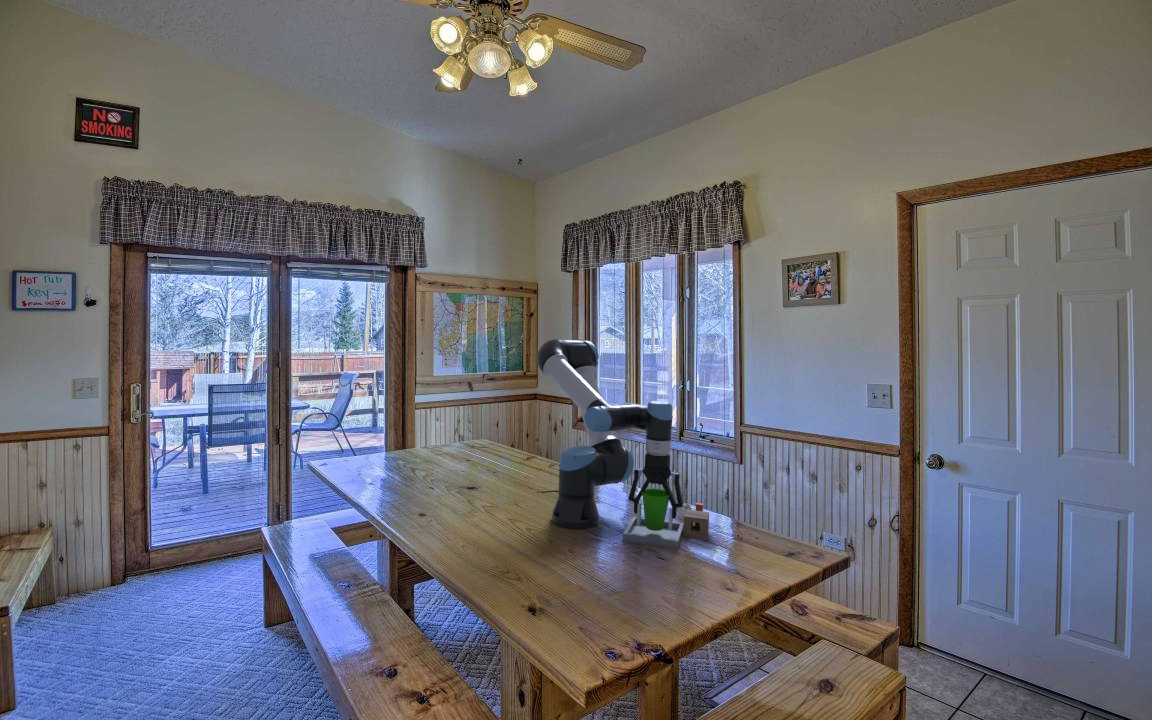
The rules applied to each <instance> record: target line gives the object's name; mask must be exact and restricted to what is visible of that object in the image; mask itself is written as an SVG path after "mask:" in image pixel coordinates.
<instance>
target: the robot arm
mask: <svg viewBox="0 0 1152 720" xmlns="http://www.w3.org/2000/svg"><path fill="white" fill-rule="evenodd" d="M599 355H600V354H599V352H598V349H597V347H596V346H595V345H594V343H593V342H592V341H589V340H583V339H580V338H579V339H559V338H558V339H557V338H553V339H550V340H547V341H546V342H544V343H543V344H542V345H541V346H540V347H539V350H538V351H537V356H536V362H537V365H538V368H539V369H540V371H541V373H543V375H544V376H545V377H546V378H548V379H552V380H553V382H555V383H556V384H557V386H559V388H560V389H561V390H562V391H563V392H564V393H565V394H566V395H567V397H569V399H570V400H571V402H573V403H574V404H575V405H576V406H577V407H578V409H579V411H580V415H581V417H582V420H583V421H582V422H583V424H584V427H585V431H586V434H587V438H588V441H589V446H587V445H582V446H579V445H578V446H571V447H569V448H566V449H564V450H563V451H562V452H561V453H560V454H559V455H560V456H559V463H558V469H559V471H558V495H557V499H556V502H555V505H554V507H553V511H552V513H551V514H552V515H551V521H552V523H554V524H555V525H557V526H559V527H563V528H567V529H576V530H577V529H578V530H579V529H589V528H592V527H595V526H597V525H599V522H600V514H599V509H598V506H597V503H596V500H595V493H596V492H595V489H596V487H599V486H604V485H605V486H606V485H613V484H614V485H615V484H619V483H621V482H626V481H627V480H628V479H629V478H631V476H632V473H633V476H634V477H633V481H632V484H631V488H630V491H629V496H628V498H627V499H628V501H630V502H633V503H634V505H633V512H634V514H636V517H637V525H638V526H639V525H640V523H641V518H642V506H643V505H642V504H643V501H640V500H641V498H643V496H642V493H641V492H643V493H644V491H645V490H646V488H648V486H649V485H650V484H651V485H652V484H654V485H655V484H657V485H662V489H664V490H665V492H666V494H667V496H668V495H670V496H669V497H668V499H669V503H670V506H669V512H668V521H669V530H671V529H672V522H674V521H673V519H674V520H676V518H677V513H678V510H677V509H678V508H682V507H683V505H684V500H683V495H682V489H681V484H680V477H681V474H680V472H674V471H672V470H671V455H670V453H671V449H672V427H673V405H672V403H670V402H667V401H659V400H653V401H652V400H651V401H648V403H647V405H643V404H638V403H636V402H625V403H624V404H623V403H622V404H618V405H610V404H609V403H608V401H606V400H605V399H604V398H603V397H602V396H601V392H600V389H599V386H598V383H597V380H596V377H595V375H596V372H597V371H598V370H597V367H598V366H599V362H600V361H599V359H600V356H599ZM631 429H633V430H635V429H637V430H642V431H645V432H646V433H645V454H644V456H645V457H644V467H643V468H638V467H637V468H635V460H634V459H635V458H634V455H633V453H632V451H631V449H629V448H628V447H626V446H623V445H622V442H621V439H620V438H618V437H617V436H615V435H614V431H621V430H631ZM634 468H635V469H634ZM633 470H634V471H633ZM642 474H643V476H644V477H645V478H646V480H645V482H644V483H643V485H642V487H641V489H640V491H639V492H638V494H637V495H636V496H635V494H636V490H637V487H638V483H639V480H640V477H641V476H642ZM670 477H671V478H672V480H673V481H674V488H675V495H676V498H675V496H674V493H673V492H672V490H671V487H670V485H669V482H668V479H669V478H670Z"/></svg>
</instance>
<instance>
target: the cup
mask: <svg viewBox="0 0 1152 720" xmlns="http://www.w3.org/2000/svg"><path fill="white" fill-rule="evenodd" d="M641 493H642V504H643V505H642V506H643V512H644V513H643V514H644V518H645V524H646V528H647V529H649V530H653V531H660V530H662V528H663V526H664V521H666V516H667V515H666V514H667V511H668V506H669V503H670V501H669V499H668V497H669V496H670V495H668V496H667V494H666V492H665V489H664V488H657V487H647V488H646V490H645V491H644V493H643V492H641Z"/></svg>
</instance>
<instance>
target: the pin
mask: <svg viewBox="0 0 1152 720" xmlns="http://www.w3.org/2000/svg"><path fill="white" fill-rule="evenodd" d="M695 511H703V512H704V502H696V503H695ZM693 523H694V524H700V523H697V522H693Z"/></svg>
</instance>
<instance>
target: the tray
mask: <svg viewBox="0 0 1152 720" xmlns="http://www.w3.org/2000/svg"><path fill="white" fill-rule="evenodd" d="M683 532H684V522H676V521H672V529H671V530H669V520H665V521H664V526H663V528H662V530H660V531H653V530H649V529H647V528H646V524H645V517H641V523H640V525H639V526H638V525H637V516H632V518H631V519H630V521H629V523H628V525H627V527H626V528H625V529H624V531H623V533H622V542H628V543H633V544H639V545H646V546H653V547H659V548H667V549H672V550H673V549H674V550H678V549H679V546H680V543H681V540H682V537H683Z"/></svg>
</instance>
